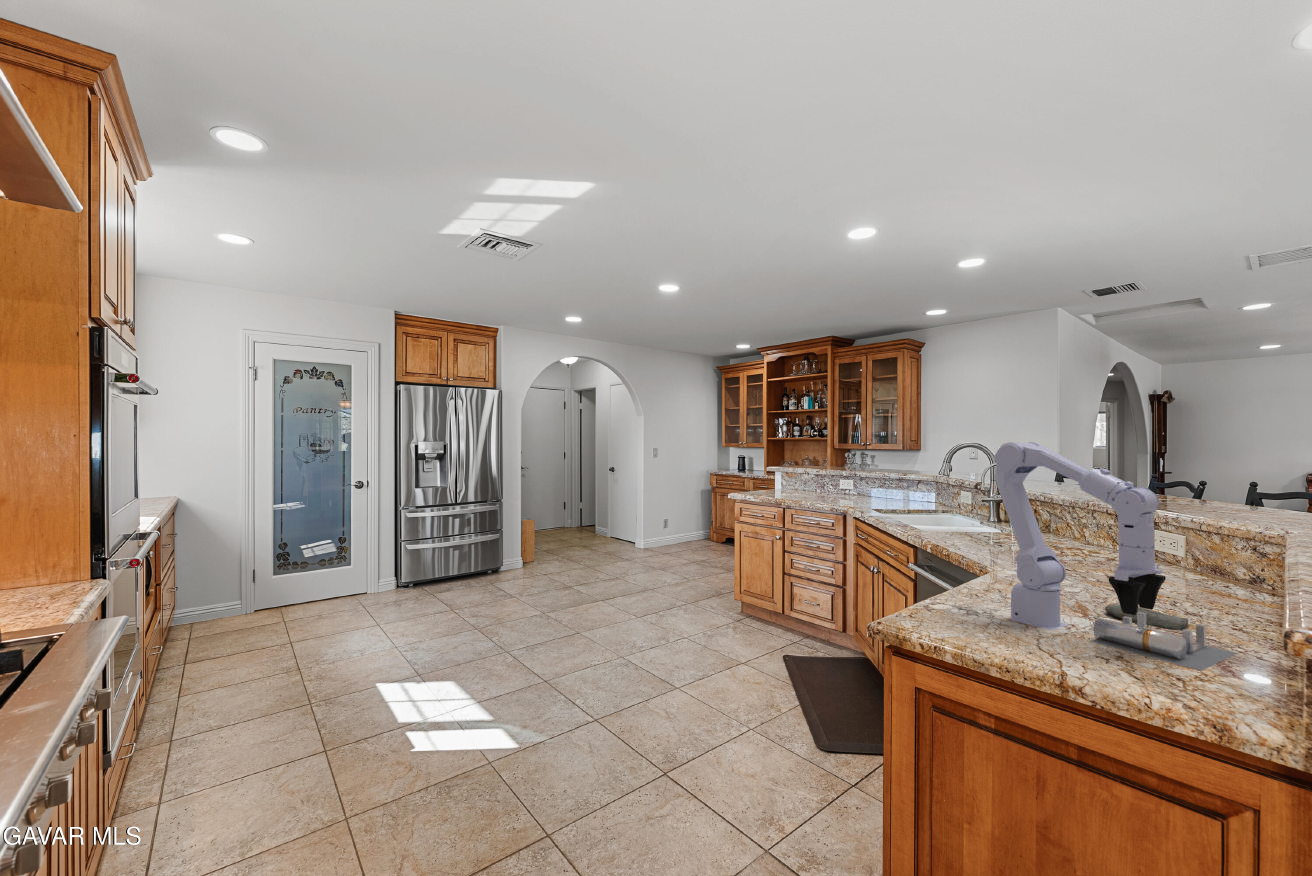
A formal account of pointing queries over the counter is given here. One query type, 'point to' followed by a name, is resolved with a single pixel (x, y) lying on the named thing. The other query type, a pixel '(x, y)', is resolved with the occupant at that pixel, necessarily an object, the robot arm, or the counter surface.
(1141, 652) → the board
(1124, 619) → the collar
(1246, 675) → the counter surface
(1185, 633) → the collar
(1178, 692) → the counter surface
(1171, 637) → the tube
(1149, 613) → the stone
